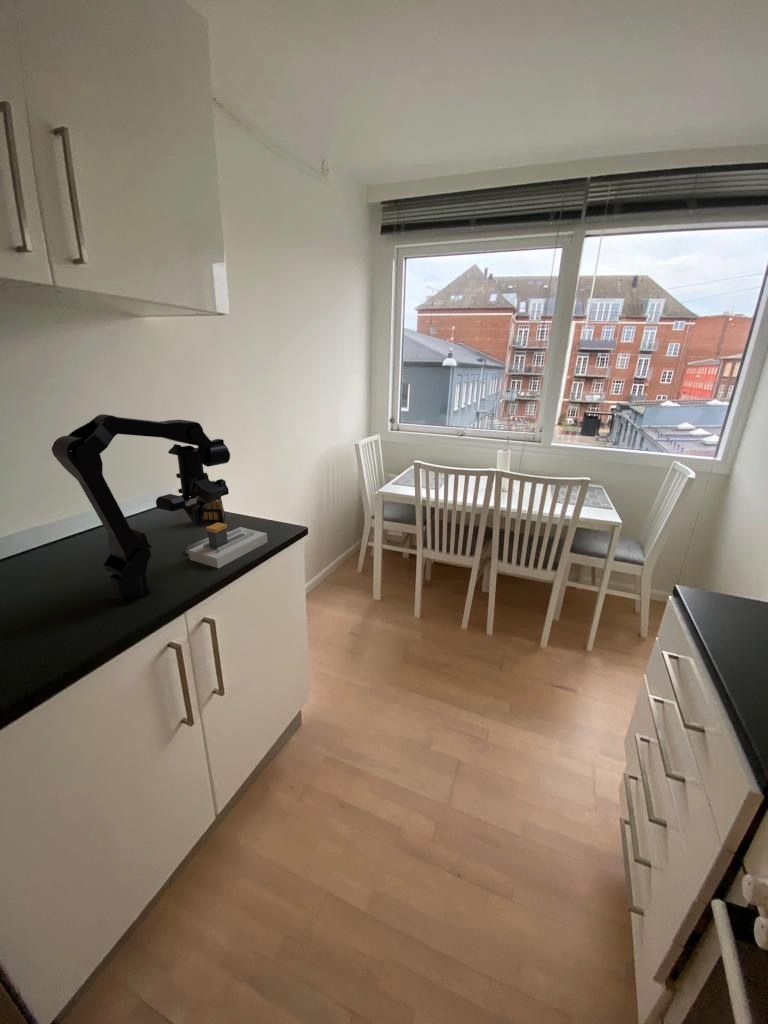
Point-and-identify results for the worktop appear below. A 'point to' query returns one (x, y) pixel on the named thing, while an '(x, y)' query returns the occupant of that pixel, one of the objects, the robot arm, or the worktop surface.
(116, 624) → the worktop surface
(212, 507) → the ammunition clip
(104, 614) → the worktop surface
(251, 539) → the breaker panel
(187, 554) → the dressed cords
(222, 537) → the breaker lever
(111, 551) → the robot arm
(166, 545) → the worktop surface
